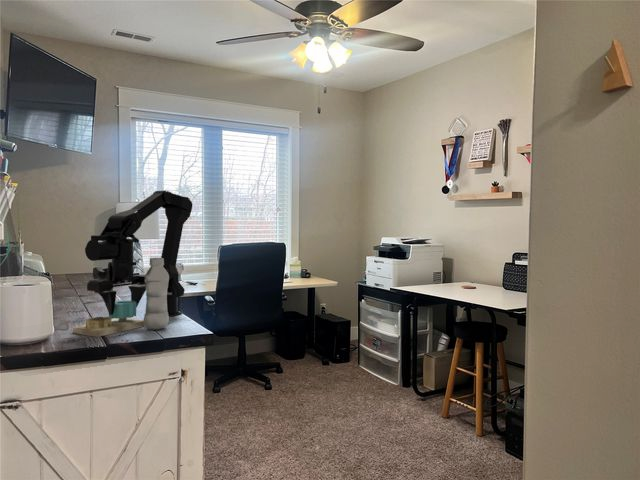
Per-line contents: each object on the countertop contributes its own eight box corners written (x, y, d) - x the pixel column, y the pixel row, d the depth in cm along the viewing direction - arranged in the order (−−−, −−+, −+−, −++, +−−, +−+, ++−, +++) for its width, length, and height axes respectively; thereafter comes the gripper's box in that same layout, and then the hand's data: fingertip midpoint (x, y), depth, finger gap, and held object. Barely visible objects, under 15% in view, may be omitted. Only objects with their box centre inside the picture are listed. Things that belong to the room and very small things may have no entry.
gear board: (123, 321, 137) (123, 302, 137) (146, 325, 132) (146, 305, 132) (72, 332, 123) (72, 310, 123) (96, 337, 118) (96, 314, 118)
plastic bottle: (143, 327, 130) (143, 257, 129) (168, 325, 132) (168, 257, 132) (144, 332, 124) (144, 259, 123) (170, 330, 126) (170, 259, 126)
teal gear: (124, 312, 136) (124, 299, 136) (141, 315, 132) (141, 301, 132) (103, 316, 129) (103, 302, 129) (120, 319, 126) (120, 305, 126)
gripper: (130, 255, 142) (130, 305, 143) (74, 259, 126) (74, 315, 126) (155, 257, 137) (155, 308, 138) (100, 261, 121) (100, 319, 121)
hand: (122, 312), depth 131 cm, fingers closed on teal gear, 7 cm apart
